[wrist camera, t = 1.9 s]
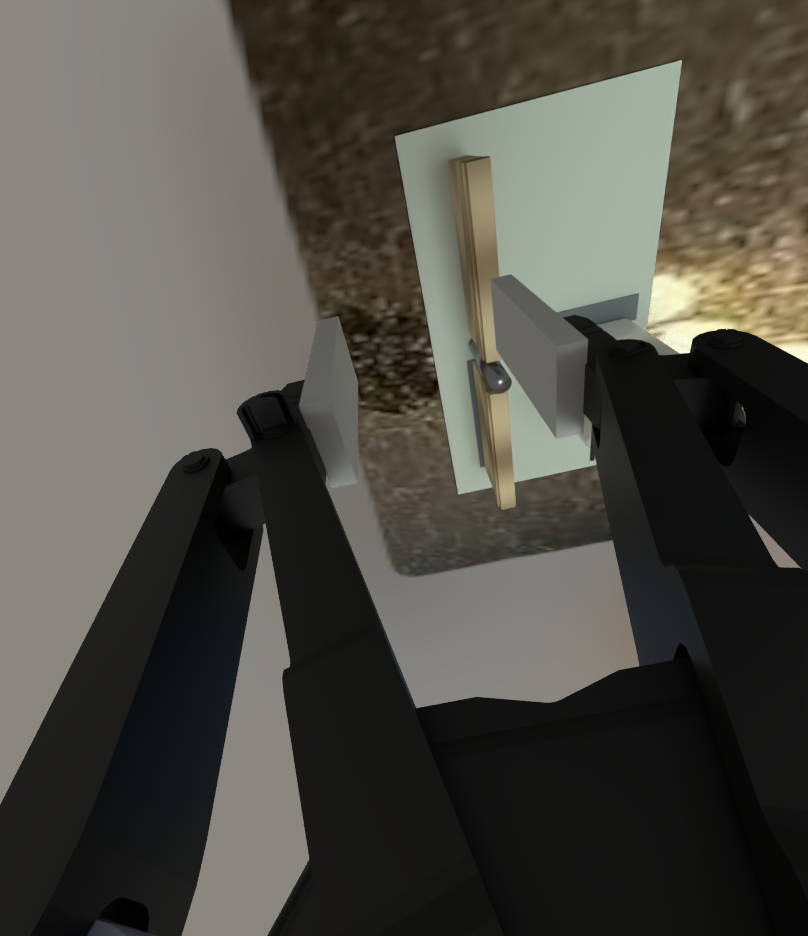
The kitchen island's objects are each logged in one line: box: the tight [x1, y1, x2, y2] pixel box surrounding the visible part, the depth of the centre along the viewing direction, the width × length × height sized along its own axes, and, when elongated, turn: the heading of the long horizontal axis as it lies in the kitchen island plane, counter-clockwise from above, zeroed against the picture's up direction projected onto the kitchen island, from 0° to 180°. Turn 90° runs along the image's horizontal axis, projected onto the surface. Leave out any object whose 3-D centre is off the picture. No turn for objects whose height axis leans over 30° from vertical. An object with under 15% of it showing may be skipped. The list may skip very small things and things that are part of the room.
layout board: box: [394, 60, 682, 494], centre depth 34 cm, size 29×17×1 cm, turn 12°
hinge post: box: [468, 338, 512, 394], centre depth 31 cm, size 1×1×8 cm
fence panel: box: [448, 155, 503, 363], centre depth 28 cm, size 11×2×6 cm, turn 12°
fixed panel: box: [472, 361, 516, 510], centre depth 36 cm, size 11×2×6 cm, turn 12°
